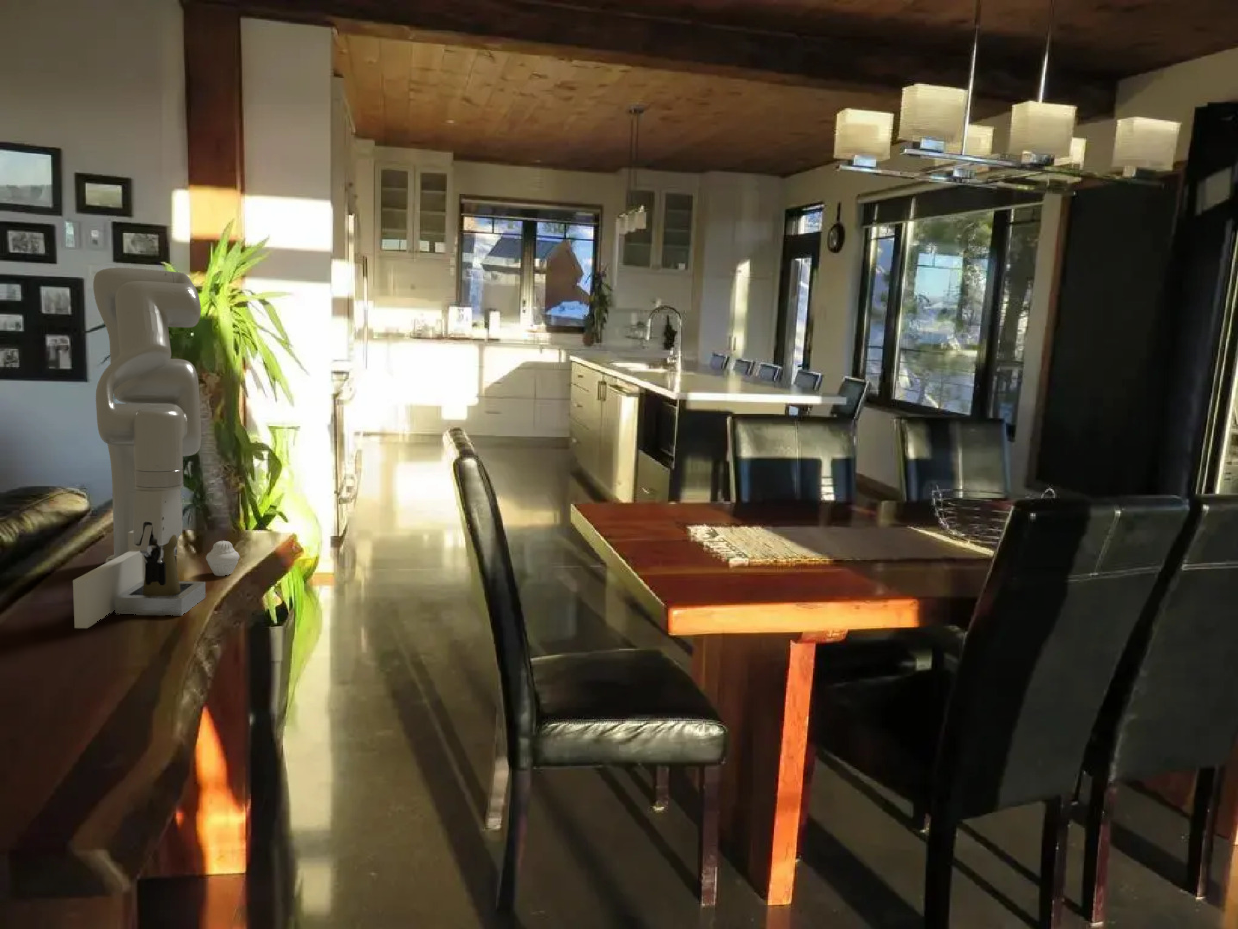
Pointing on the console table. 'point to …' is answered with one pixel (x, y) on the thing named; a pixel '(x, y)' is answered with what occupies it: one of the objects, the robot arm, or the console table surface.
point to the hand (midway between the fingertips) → (161, 580)
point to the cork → (171, 573)
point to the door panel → (106, 585)
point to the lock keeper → (160, 600)
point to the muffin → (222, 558)
